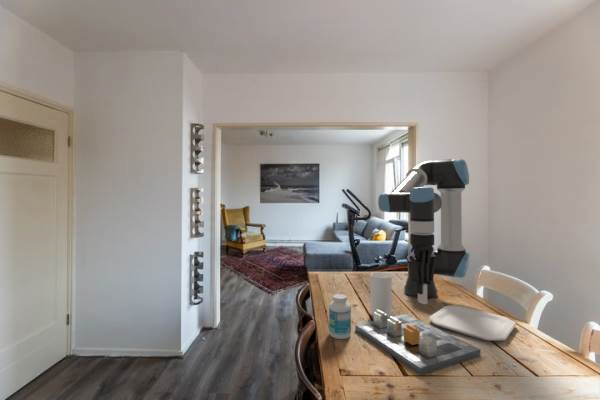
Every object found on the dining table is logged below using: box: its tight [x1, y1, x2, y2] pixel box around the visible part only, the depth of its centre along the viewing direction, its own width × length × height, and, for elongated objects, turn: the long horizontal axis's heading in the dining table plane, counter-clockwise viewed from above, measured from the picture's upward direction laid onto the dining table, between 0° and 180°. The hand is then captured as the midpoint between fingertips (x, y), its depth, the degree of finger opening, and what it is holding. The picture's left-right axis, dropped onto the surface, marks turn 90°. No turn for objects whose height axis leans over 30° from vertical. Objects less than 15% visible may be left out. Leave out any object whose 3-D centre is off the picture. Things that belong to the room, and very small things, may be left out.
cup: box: [370, 272, 393, 318], centre depth 122 cm, size 8×8×16 cm
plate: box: [428, 305, 517, 342], centre depth 112 cm, size 25×25×2 cm
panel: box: [354, 309, 481, 377], centre depth 99 cm, size 24×30×7 cm
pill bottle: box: [328, 293, 352, 340], centre depth 104 cm, size 8×7×14 cm
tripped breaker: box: [404, 324, 420, 345], centre depth 94 cm, size 3×4×5 cm
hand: (422, 302), depth 102 cm, fingers closed
